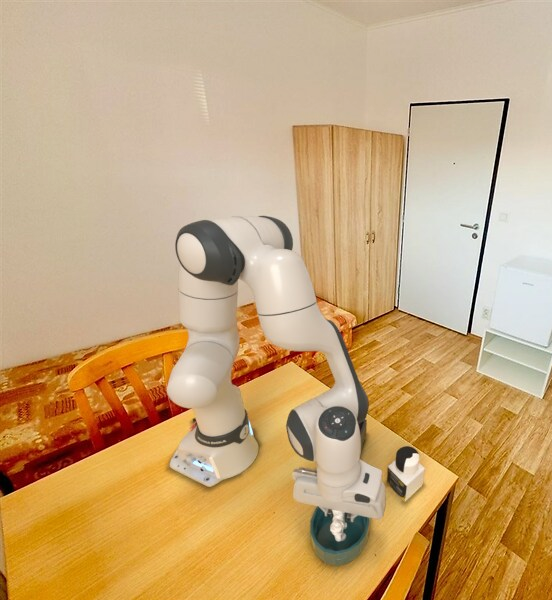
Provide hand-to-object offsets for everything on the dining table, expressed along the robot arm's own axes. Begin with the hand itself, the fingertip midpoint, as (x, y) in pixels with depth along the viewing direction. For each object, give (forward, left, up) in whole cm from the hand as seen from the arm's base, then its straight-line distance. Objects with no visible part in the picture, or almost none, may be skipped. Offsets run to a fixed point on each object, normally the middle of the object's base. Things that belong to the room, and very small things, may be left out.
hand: (340, 516), depth 72 cm
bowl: (0, 0, -7) cm, 7 cm away
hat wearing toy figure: (0, 0, -6) cm, 6 cm away
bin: (-7, +23, -7) cm, 25 cm away
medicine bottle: (+13, +15, -7) cm, 21 cm away
